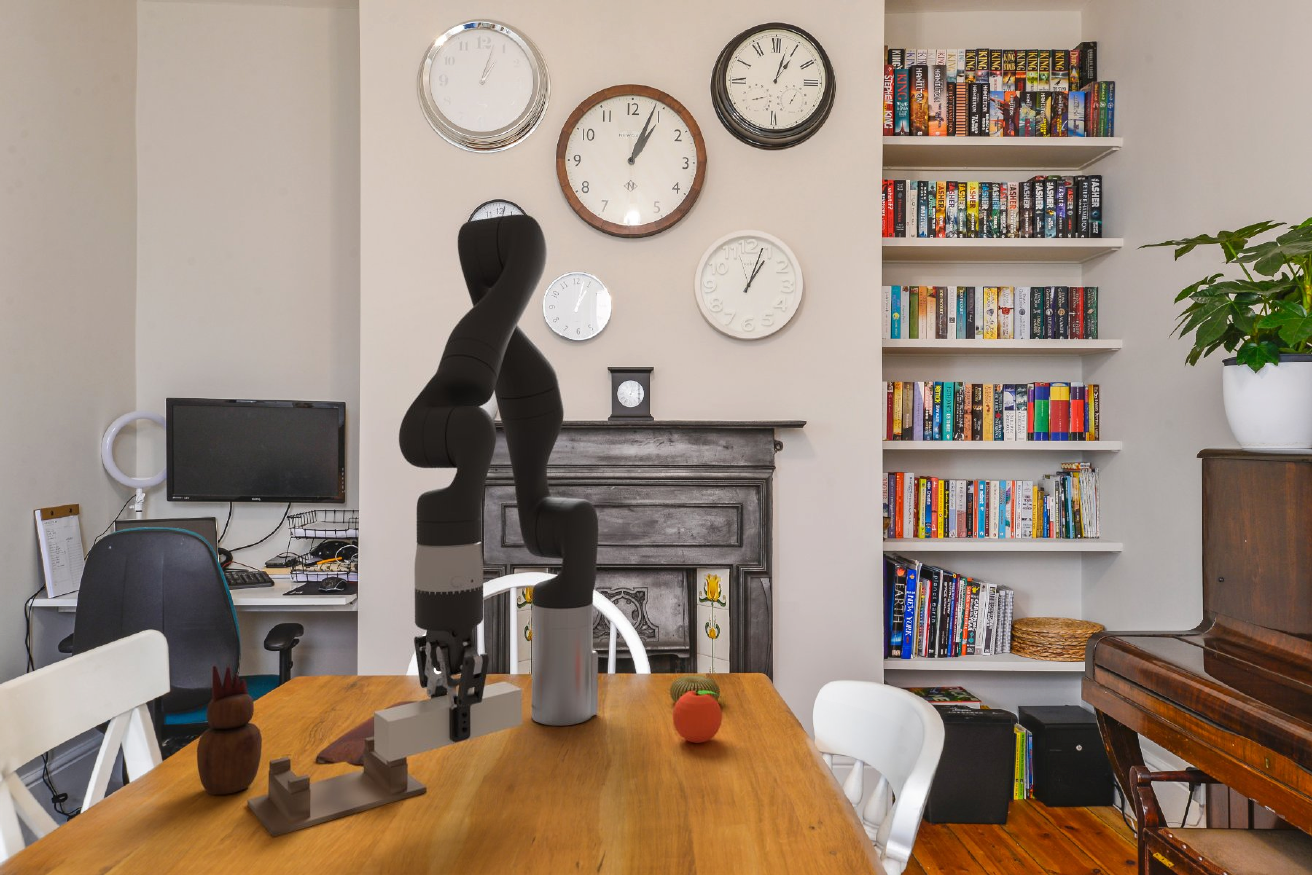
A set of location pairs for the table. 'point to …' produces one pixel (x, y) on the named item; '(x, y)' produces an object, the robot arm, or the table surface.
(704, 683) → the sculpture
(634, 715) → the table surface
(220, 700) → the wooden figurine
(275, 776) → the rack
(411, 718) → the white rectangular block
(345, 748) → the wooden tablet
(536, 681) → the robot arm
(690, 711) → the clementine
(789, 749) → the table surface
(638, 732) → the table surface
